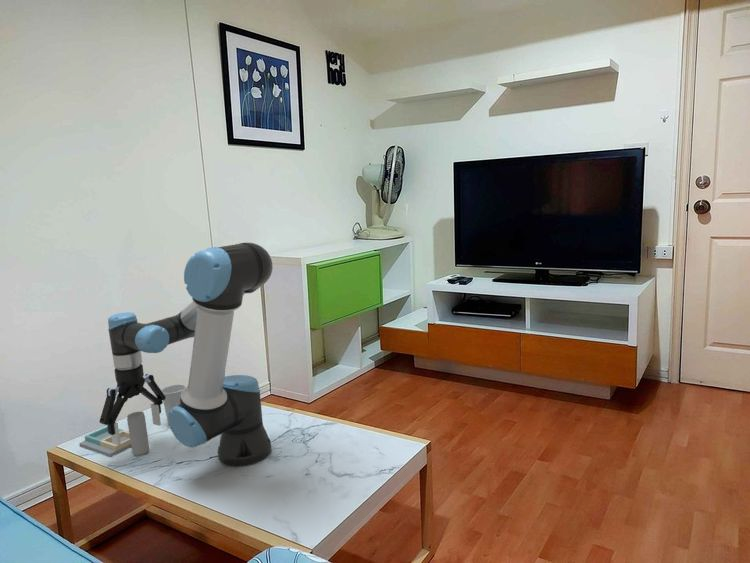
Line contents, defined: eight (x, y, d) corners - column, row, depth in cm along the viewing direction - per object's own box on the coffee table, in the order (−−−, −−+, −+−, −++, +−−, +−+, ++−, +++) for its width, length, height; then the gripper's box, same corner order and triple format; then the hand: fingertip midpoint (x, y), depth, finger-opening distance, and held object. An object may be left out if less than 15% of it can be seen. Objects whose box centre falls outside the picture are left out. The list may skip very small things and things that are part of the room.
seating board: (146, 439, 169) (144, 432, 169) (110, 457, 159) (109, 449, 159) (115, 430, 178) (114, 423, 177) (79, 446, 168) (78, 438, 167)
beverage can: (143, 456, 158) (137, 418, 156) (128, 455, 159) (123, 417, 157) (153, 448, 163) (147, 411, 161) (138, 448, 164) (133, 411, 162)
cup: (166, 420, 183) (161, 386, 181) (190, 415, 186) (186, 382, 183) (164, 429, 176) (159, 395, 174) (190, 425, 178) (185, 390, 176)
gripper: (156, 351, 169) (164, 414, 173) (79, 378, 148) (89, 449, 152) (172, 354, 165) (180, 419, 169) (95, 382, 144) (105, 455, 148)
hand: (137, 433), depth 160 cm, fingers open, 13 cm apart
